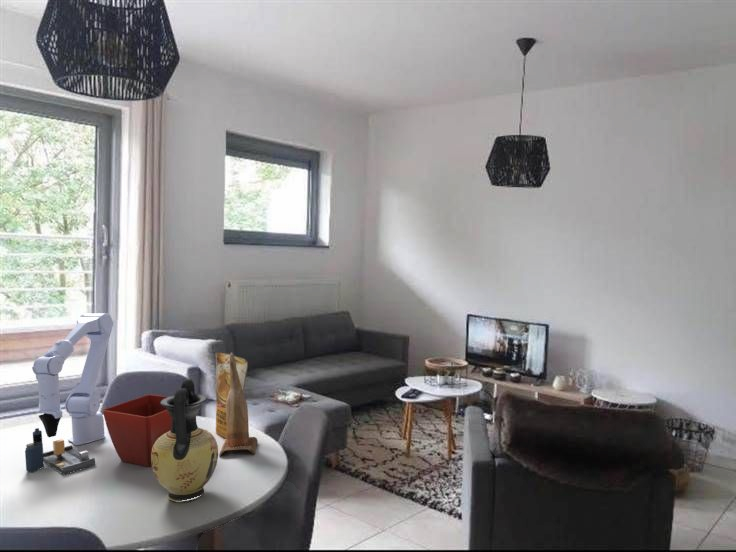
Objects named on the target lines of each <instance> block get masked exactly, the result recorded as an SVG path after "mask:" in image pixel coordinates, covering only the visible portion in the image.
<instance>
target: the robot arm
mask: <svg viewBox="0 0 736 552" xmlns="http://www.w3.org/2000/svg"><path fill="white" fill-rule="evenodd" d="M113 326H114V321H113V318H112V317H111V315H110V314H109V313H107V312H104V313H89V312H88V313H87V312H84V313H82V314H81V315H79V317H77V319H76V325H75V326H74V327H73V329H71V331H70V332H69V333H68V334H67V336H66V337H65V338H64V339H59V340H56V341H55V342H54V345H52V347H51V348H50V349H48V351H47V352H46V353H45V354H44V355H43V356H39V357H38V358H37V359H35V361H34V362H33V364H32V365H33V366H32V367H31V368H32V372H33V374H35V379H36V381H37V384H38V385H37V386H38V387H37V388H38V400H39V401H38V409H35V410H34V411H35V413H36V414H40V415H38V418H39V420H40V421H41V422H42V425H43V428H44V430H45V433H46V436H47V438H53V437H56V436H57V433H58V428H59V423H60V421H61V419H62V418H63V410H62V405H61V398H60V397H61V396H60V379H59V378H60V377H59V374H60V373H61V372H62V370H63V367H64V364H65V361H66V360H67V359H68V358H69V357H70V356H71V355H72V353H73V352H74V351H75V348H74V346H75V345H76V344H77V343H78V342H79V341H81V340H82V339H83V338H84V337H86V338H87V339H89V341H90V345H89V349H88V353H87V356H86V358H85V362H84V365H83V368H82V369H83V370H82V373H81V376H80V380H79V383H78V385H77V386H76V387H74V388H72V389H71V390H70V392H69V394H68V397H67V398H66V400H65V402H64V409H65V411H66V413H68V414H69V415H68V416H69V417H70V418H71V430H72V431H71V433H72V438H71V437H70V438H68V439H67V440H68V442H70V443H72V444H74V445H76V446H82V445H85V444H89V443H93V442H96V441H98V440H103V439H105V438H106V437H107V436H106V435H105V418H104V414H103V413H102V412H101V411H99V409H100V407H101V396H102V394H101V392H100V391H99V390H98V389H97V388H96V387H97V384H98V380H99V377H100V373H101V369H102V365H103V362H104V358H105V355H106V351H107V347H108V344H109V340H110V338H111V334H112V330H113Z"/></svg>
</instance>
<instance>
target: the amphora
mask: <svg viewBox="0 0 736 552" xmlns="http://www.w3.org/2000/svg"><path fill="white" fill-rule="evenodd" d="M195 391H196V389H195V383H194V381H193V379H189V378H187V379H184V380H183V381H181V386H180V388H177V389H176V390H175V392H174V395H171V396H166V397H167V398H165V399H163V400H162V401H161V403H160V404H161V405H162V406H163V407H166V408H167V412H168V413H169V414H170V415H171V417H172V426H171V430H170V431H169V432H167V433H165V434H163V435H162V436H160V437H159V438H158V439H157V440H156V442H155V444H154V445H153V448H152V452H151V465H152V466H151V469H152V472H153V474H154V477H155V478H156V480H157V481H158V483H159V484H160V486H161V487H163V488H164V489H165V490H167V491H168V493H167V499H168V500H169V499H170V500H172V501H182V500H187V499H191V498H194V497H197V496H200V495H202V494H203V493H204V494H205V488H204V487H205V485H206V484H208V482H210V480H211V478H212V476H213V475H214V472H215V470H216V467H217V465H218V460H219V459H218V458H219V446H218V442H217V440H216V438H215V436H214V435H213V434H212V432H210V431H208V430H207V429H204V428H201V427H199V426H198V424H197V414H198V412H199V411H200V409H201V407H202V404H204V403H205V402H206V401H207V397H206V396H205V395H203V394H199V393H195ZM204 494H203V495H204ZM203 495H202V496H203ZM170 500H169V501H170ZM172 501H171V502H172Z"/></svg>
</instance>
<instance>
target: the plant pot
mask: <svg viewBox="0 0 736 552" xmlns="http://www.w3.org/2000/svg"><path fill="white" fill-rule="evenodd" d="M167 397H168V396H165V395H160V394H159V395H158V394H146V395H143V396H140V397H137V398H134V399H130V400H128V401H125V402H122V403H117V404H114V405H113V406H110V407H107V408H104V409H103V410H102V412H103V413H102V414H103V419H104V423H105V425H106V429H107V431H108V435H109V437H110V441H111V443H112V444H113V447H114V450H115V452H116V454H117V456H118V458H119V459H120V461H121V462H125V463H129V464H134V465H138V466H144V467H147V468H148V467H152V465H151V452H152V448H153V445H154V444H155V442H156V440H157V439H158V438H159V437H160V436H162V435H163V434H165V433H167V432H169V431H170V430H171V426H172V417H171V415H170V414H169V413H168V412H167V408H166V407H163V406H162V405H161V404H160V403H161V401H162V400H163V399H165V398H167Z"/></svg>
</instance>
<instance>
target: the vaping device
mask: <svg viewBox="0 0 736 552" xmlns="http://www.w3.org/2000/svg"><path fill="white" fill-rule="evenodd" d="M43 445H44V443H43V432H42V430H40V428H34V431H33V432H32V442H29V443H27V444H26V446H25V450H24V456H25V469H26V471H27V473H34V472H37V471H39V470H41V469H42V468H44V467H45V462H44V458H43V453H44V446H43ZM40 468H41V469H40ZM38 469H39V470H38Z"/></svg>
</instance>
